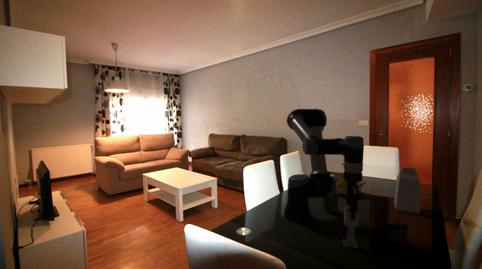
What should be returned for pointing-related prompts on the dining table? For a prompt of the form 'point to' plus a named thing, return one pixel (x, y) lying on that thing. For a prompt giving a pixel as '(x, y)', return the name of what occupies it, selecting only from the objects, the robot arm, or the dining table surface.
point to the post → (350, 238)
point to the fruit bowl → (345, 186)
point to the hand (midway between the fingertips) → (350, 223)
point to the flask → (397, 232)
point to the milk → (407, 191)
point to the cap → (346, 215)
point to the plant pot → (331, 202)
